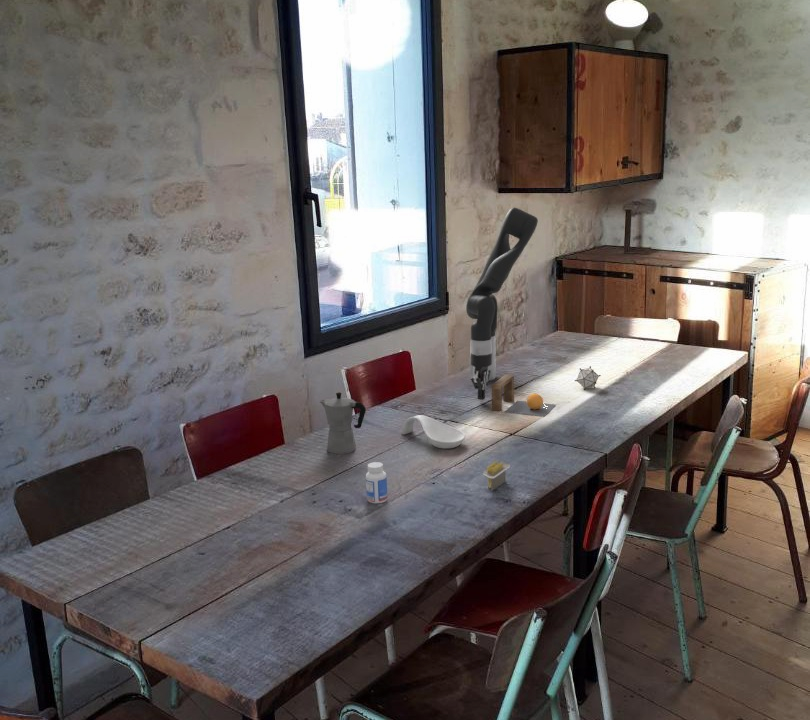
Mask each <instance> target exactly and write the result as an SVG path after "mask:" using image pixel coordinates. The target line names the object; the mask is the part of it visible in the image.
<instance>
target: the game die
mask: <svg viewBox="0 0 810 720" xmlns="http://www.w3.org/2000/svg"><path fill="white" fill-rule="evenodd" d="M601 376H602V375H601V374H597V373H596V371H594V369H592V367H591V365H590V366H589V368H581V367H580V368H579V373H578V376H577V377H576V379H574V382H577V383H579V385H581V387H582V386H583V388H584V389H583V390H584V391H586V389H589V388H594V389H596V385H597V381H598V379H599V377H601Z"/></svg>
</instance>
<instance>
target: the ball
mask: <svg viewBox="0 0 810 720" xmlns="http://www.w3.org/2000/svg"><path fill="white" fill-rule="evenodd" d="M526 401H527V405H528V407H529V408H531V409H533V410H537V409H539V408H541V407H542V405H543V403H544V399H543V396H541V395H540V394H539V393H531V394H529V395H528V397H527V399H526Z"/></svg>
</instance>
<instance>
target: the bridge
mask: <svg viewBox="0 0 810 720" xmlns="http://www.w3.org/2000/svg"><path fill="white" fill-rule="evenodd" d="M514 385H515V375H514V374H506V373H505V374H504V375H503V376H502V377H501V378H499V379H498V380H497V381H494V383H492V384H491V412H497V413H500V412H502V411H503V402H511V403H512V402H514V399H515V386H514ZM502 393H503V394H502Z"/></svg>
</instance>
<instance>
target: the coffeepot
mask: <svg viewBox="0 0 810 720" xmlns="http://www.w3.org/2000/svg"><path fill="white" fill-rule="evenodd" d="M335 395H336V397H333V398H330V399H328V398H327V399H323V400H320V401H319V403H320V404H321V406H323V408H324V410H325V415H326V420H327V424H328V425H329V430H328V437H327V443H326V445H327V446H326V451H327V452H328V453H330V454H336V455H345V454H349V453H352V452H354V451H355V450H356V446H357V444H356V441H355V440H356V439H355V435H354V431H353V427H354V428H355V429H361V427H362V425H363V421H364V418H365V415H366V410H367V409H366V407H365V405H364V404H363V403H362V402H359V401H355V400H354V399H351V398H349V397H342V392H336V393H335ZM354 409H359V410H360V411H359V414H358V418H357V424H354V425H353V427H352V423H353V414H354Z"/></svg>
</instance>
